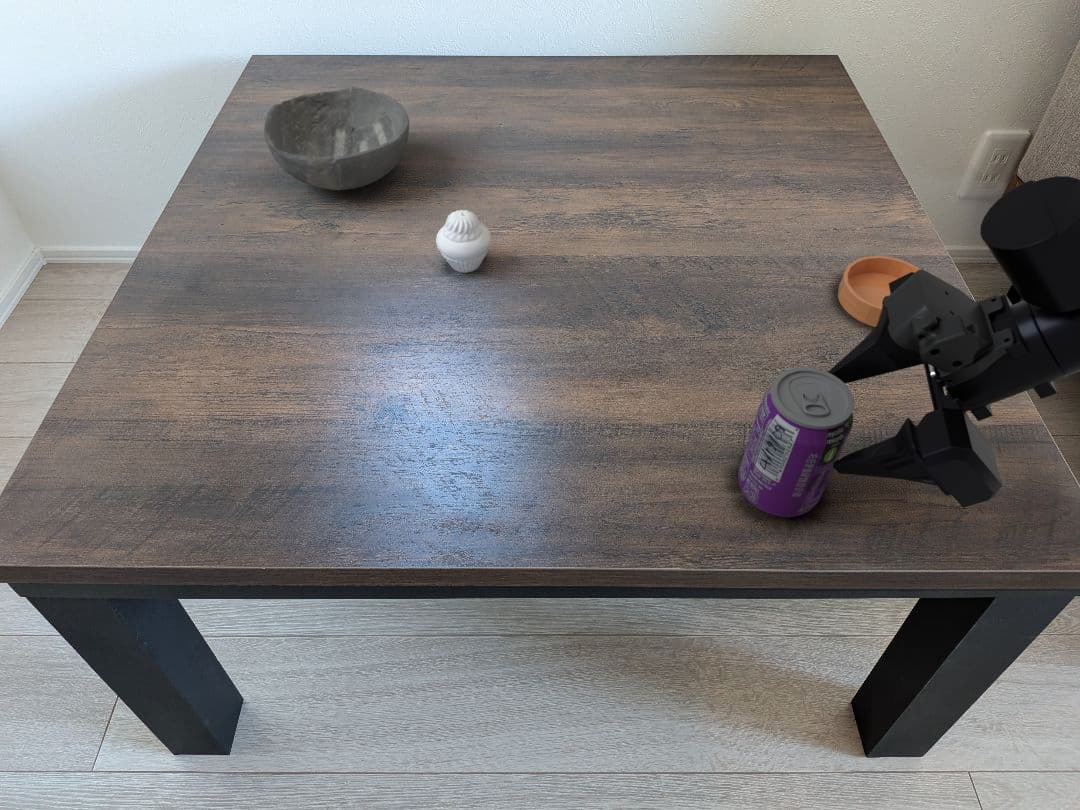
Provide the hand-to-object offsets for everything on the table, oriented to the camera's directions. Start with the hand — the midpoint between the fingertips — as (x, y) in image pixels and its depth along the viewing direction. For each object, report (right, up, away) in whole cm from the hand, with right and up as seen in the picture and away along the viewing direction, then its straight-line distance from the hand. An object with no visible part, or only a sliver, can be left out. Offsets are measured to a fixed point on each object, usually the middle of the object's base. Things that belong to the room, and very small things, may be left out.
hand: (830, 422), depth 62 cm
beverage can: (-2, -6, +7) cm, 10 cm away
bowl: (-48, +31, +41) cm, 70 cm away
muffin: (-31, +17, +28) cm, 46 cm away
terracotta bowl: (+14, +13, +24) cm, 31 cm away
